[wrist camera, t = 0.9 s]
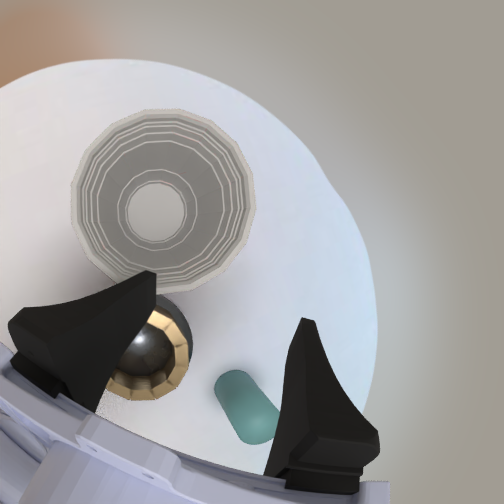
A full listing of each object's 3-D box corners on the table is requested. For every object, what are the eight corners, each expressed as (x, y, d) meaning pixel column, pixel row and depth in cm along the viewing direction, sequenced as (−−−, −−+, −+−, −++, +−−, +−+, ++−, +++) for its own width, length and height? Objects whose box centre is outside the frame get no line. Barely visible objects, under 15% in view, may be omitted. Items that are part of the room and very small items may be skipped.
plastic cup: (219, 162, 28) (268, 122, 17) (205, 272, 28) (248, 300, 17) (110, 147, 24) (91, 92, 13) (94, 262, 24) (59, 285, 13)
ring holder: (193, 387, 29) (200, 404, 25) (93, 390, 25) (89, 407, 21) (190, 288, 28) (197, 295, 25) (79, 288, 24) (71, 295, 21)
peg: (251, 400, 31) (281, 438, 24) (214, 405, 30) (237, 448, 22) (252, 367, 31) (285, 403, 23) (214, 372, 29) (237, 412, 22)
